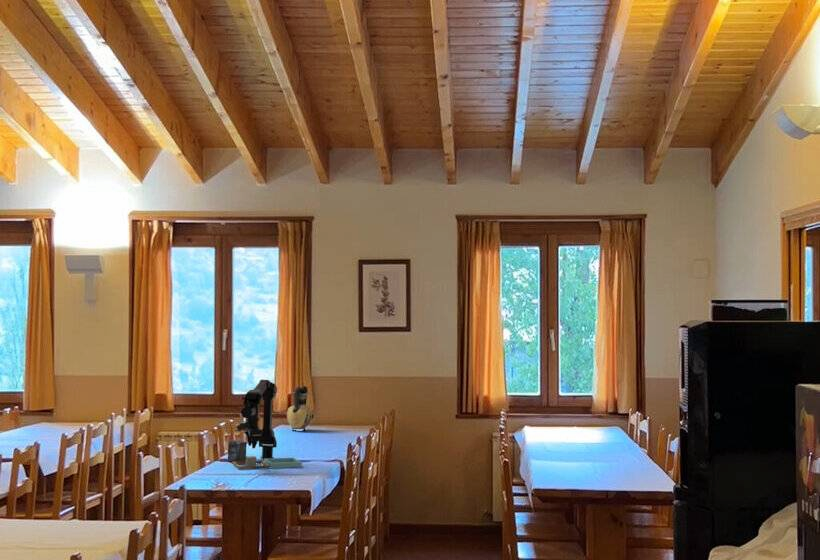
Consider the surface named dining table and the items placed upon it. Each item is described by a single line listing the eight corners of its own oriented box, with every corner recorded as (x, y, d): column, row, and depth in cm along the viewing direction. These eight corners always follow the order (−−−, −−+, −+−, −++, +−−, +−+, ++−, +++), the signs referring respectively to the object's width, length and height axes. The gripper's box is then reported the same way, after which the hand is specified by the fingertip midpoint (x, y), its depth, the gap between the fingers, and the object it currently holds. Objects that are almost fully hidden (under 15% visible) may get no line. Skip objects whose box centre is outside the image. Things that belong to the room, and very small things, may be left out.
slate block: (245, 466, 442) (245, 456, 442) (254, 465, 444) (254, 455, 444) (247, 467, 438) (247, 457, 438) (256, 467, 440) (256, 457, 440)
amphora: (306, 433, 579) (308, 387, 581) (282, 431, 582) (284, 386, 584) (314, 430, 597) (316, 386, 598) (290, 428, 600) (292, 385, 601)
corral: (232, 464, 445) (232, 461, 445) (262, 463, 451) (262, 460, 451) (238, 469, 431) (238, 466, 431) (269, 468, 437) (269, 465, 437)
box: (227, 461, 453) (228, 441, 454) (234, 460, 458) (235, 440, 459) (238, 463, 449) (239, 442, 450) (246, 462, 454) (246, 441, 455)
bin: (264, 463, 451) (264, 458, 452) (293, 462, 457) (293, 457, 457) (271, 468, 437) (271, 463, 437) (301, 467, 443) (301, 462, 443)
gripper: (233, 414, 448) (232, 444, 447) (240, 418, 431) (239, 450, 430) (254, 414, 452) (253, 444, 451) (262, 418, 435) (261, 449, 434)
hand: (251, 447), depth 441 cm, fingers open, 9 cm apart
